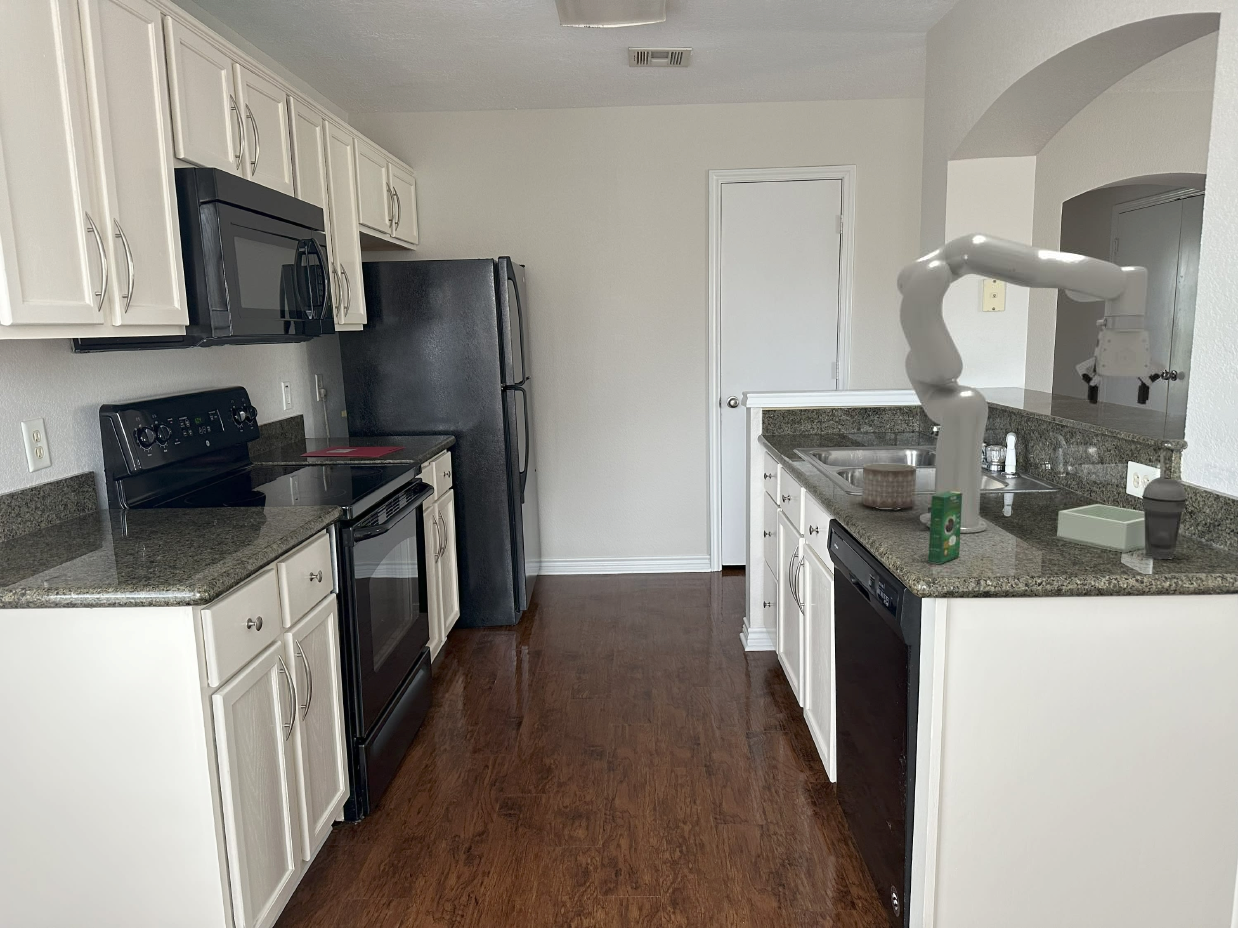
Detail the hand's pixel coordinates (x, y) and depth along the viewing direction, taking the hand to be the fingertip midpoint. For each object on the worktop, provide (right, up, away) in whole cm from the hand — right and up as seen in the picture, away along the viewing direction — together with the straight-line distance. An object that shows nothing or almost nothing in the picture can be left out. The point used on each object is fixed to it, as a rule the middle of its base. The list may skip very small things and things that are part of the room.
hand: (1117, 403), depth 188 cm
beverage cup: (-5, -31, -23) cm, 39 cm away
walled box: (-8, -29, -11) cm, 32 cm away
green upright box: (-47, -32, -23) cm, 61 cm away
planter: (-42, -24, +27) cm, 56 cm away
